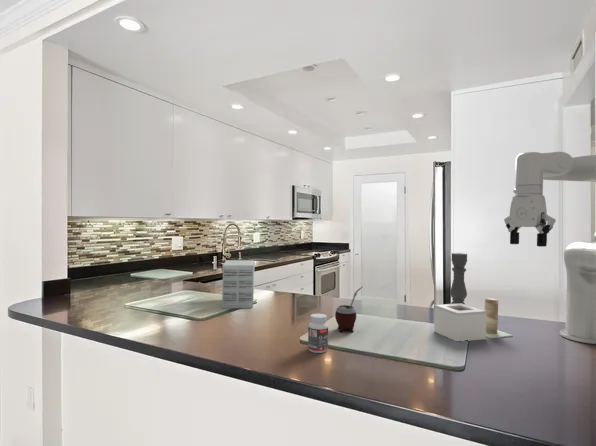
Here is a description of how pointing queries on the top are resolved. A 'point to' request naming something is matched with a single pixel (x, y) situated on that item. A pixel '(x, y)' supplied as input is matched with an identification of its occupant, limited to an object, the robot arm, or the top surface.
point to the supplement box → (238, 284)
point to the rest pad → (498, 335)
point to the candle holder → (458, 278)
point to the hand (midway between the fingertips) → (527, 245)
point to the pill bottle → (318, 333)
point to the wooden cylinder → (491, 315)
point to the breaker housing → (460, 322)
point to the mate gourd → (346, 316)
